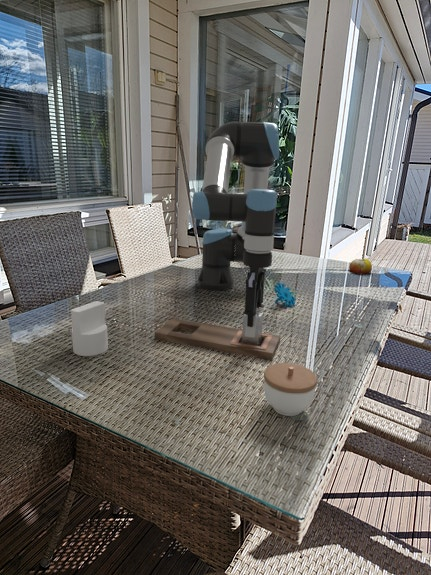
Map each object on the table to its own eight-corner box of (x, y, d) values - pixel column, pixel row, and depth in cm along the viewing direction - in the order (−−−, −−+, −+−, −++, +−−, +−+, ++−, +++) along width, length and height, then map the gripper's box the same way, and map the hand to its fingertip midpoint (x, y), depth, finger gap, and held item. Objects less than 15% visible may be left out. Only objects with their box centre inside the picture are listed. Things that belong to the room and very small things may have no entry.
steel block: (245, 339, 114) (247, 309, 112) (261, 341, 113) (263, 311, 110) (241, 345, 110) (243, 314, 108) (257, 348, 109) (259, 317, 106)
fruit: (351, 267, 206) (358, 253, 203) (370, 276, 202) (377, 262, 198) (344, 270, 197) (351, 256, 194) (364, 280, 193) (371, 265, 189)
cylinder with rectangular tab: (89, 359, 101) (86, 315, 98) (65, 349, 106) (62, 307, 102) (115, 346, 109) (113, 305, 105) (92, 338, 113) (89, 298, 110)
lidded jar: (257, 394, 89) (260, 355, 86) (304, 393, 90) (308, 355, 87) (267, 423, 79) (271, 381, 76) (320, 422, 80) (325, 381, 77)
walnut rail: (172, 324, 125) (172, 317, 125) (279, 342, 115) (280, 335, 115) (154, 338, 114) (154, 331, 114) (272, 360, 104) (272, 352, 104)
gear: (285, 306, 141) (272, 282, 144) (274, 314, 144) (261, 290, 148) (302, 303, 149) (290, 280, 152) (291, 311, 152) (279, 289, 156)
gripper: (251, 243, 113) (246, 320, 120) (234, 255, 97) (230, 343, 104) (278, 245, 111) (271, 323, 118) (265, 258, 95) (258, 348, 102)
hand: (252, 332), depth 111 cm, fingers closed on steel block, 4 cm apart
